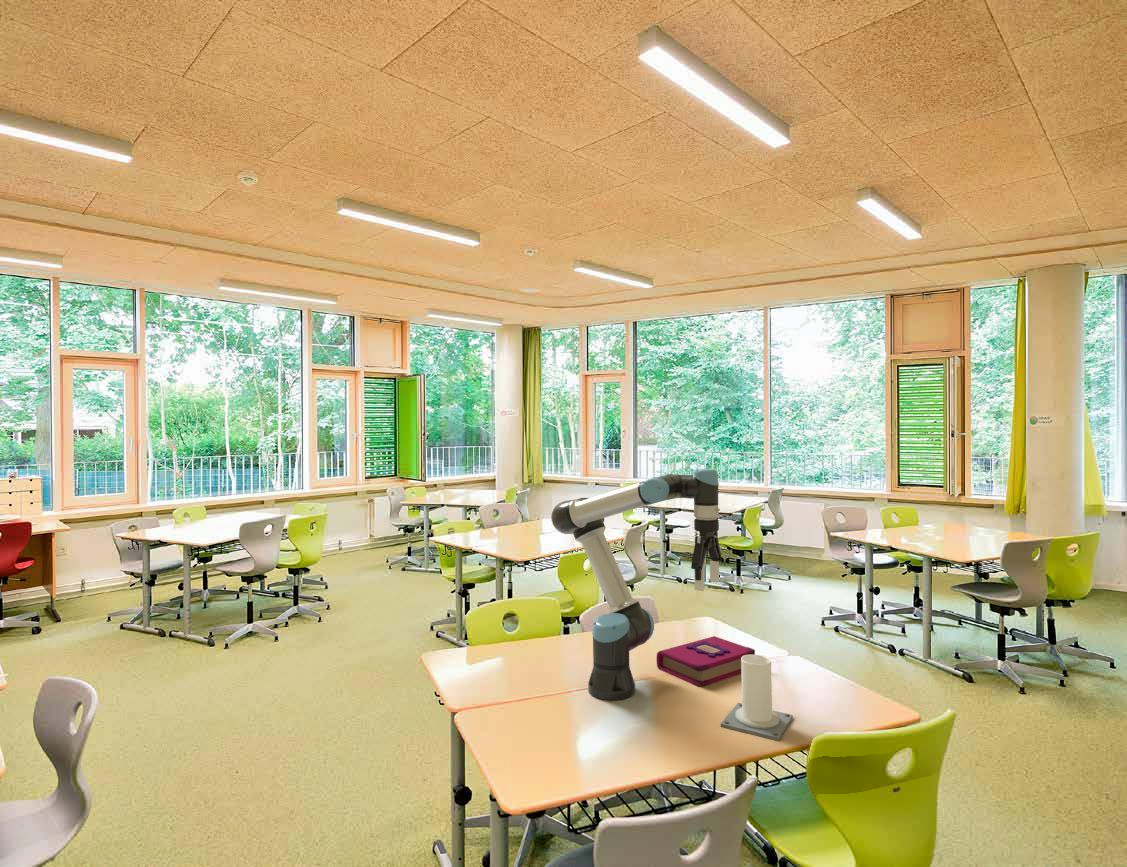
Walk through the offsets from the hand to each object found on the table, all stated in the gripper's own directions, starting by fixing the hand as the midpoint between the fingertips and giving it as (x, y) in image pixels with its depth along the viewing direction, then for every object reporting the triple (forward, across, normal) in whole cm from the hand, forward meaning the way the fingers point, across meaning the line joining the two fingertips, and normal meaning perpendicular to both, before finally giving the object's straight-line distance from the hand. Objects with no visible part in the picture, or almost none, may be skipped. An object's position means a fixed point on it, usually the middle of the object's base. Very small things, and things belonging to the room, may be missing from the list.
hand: (707, 585), depth 197 cm
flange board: (+35, -10, -18) cm, 40 cm away
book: (+35, +22, +9) cm, 42 cm away
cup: (+33, -10, -18) cm, 39 cm away
